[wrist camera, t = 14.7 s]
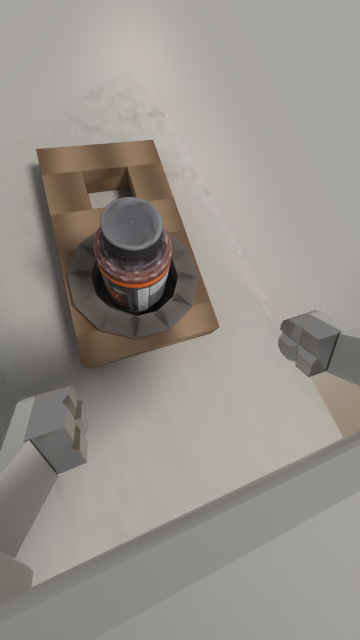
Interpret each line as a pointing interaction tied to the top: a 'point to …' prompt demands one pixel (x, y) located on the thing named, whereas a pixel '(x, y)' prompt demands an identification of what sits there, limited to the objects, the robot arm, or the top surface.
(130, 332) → the bore board
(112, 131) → the top surface
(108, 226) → the supplement bottle
